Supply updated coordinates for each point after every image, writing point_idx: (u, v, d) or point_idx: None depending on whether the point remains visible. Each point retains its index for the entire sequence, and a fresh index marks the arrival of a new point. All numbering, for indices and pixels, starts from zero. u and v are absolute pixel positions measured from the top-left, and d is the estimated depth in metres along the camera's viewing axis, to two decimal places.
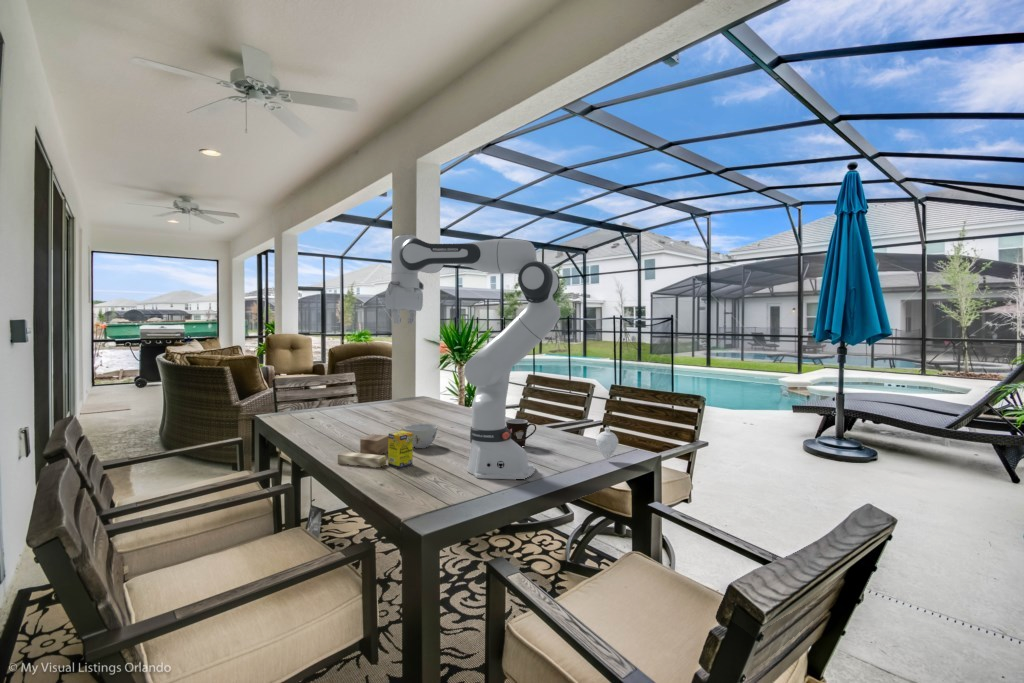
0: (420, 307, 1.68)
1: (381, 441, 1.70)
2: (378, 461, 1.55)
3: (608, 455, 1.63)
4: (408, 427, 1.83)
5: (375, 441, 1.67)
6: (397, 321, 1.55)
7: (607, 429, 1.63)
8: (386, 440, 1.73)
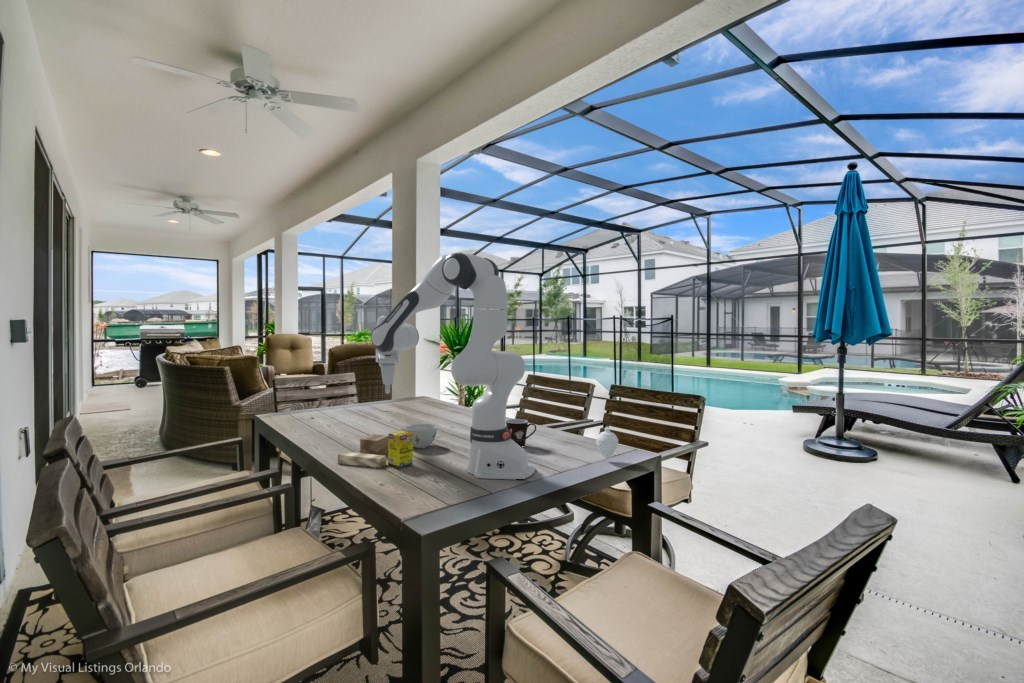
0: None
1: (381, 441, 1.70)
2: (378, 461, 1.55)
3: (608, 455, 1.63)
4: (408, 427, 1.83)
5: (375, 441, 1.67)
6: None
7: (607, 429, 1.63)
8: (386, 440, 1.73)
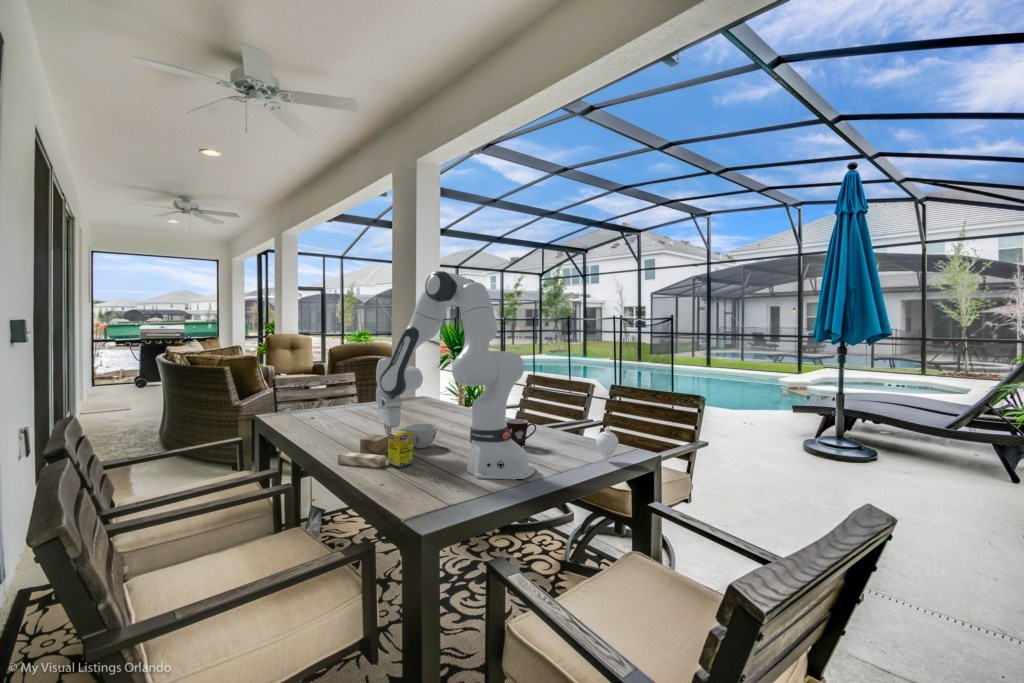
0: (388, 424, 1.73)
1: (381, 441, 1.70)
2: (378, 461, 1.55)
3: (608, 455, 1.63)
4: (408, 427, 1.83)
5: (374, 441, 1.67)
6: None
7: (607, 429, 1.63)
8: (386, 440, 1.73)
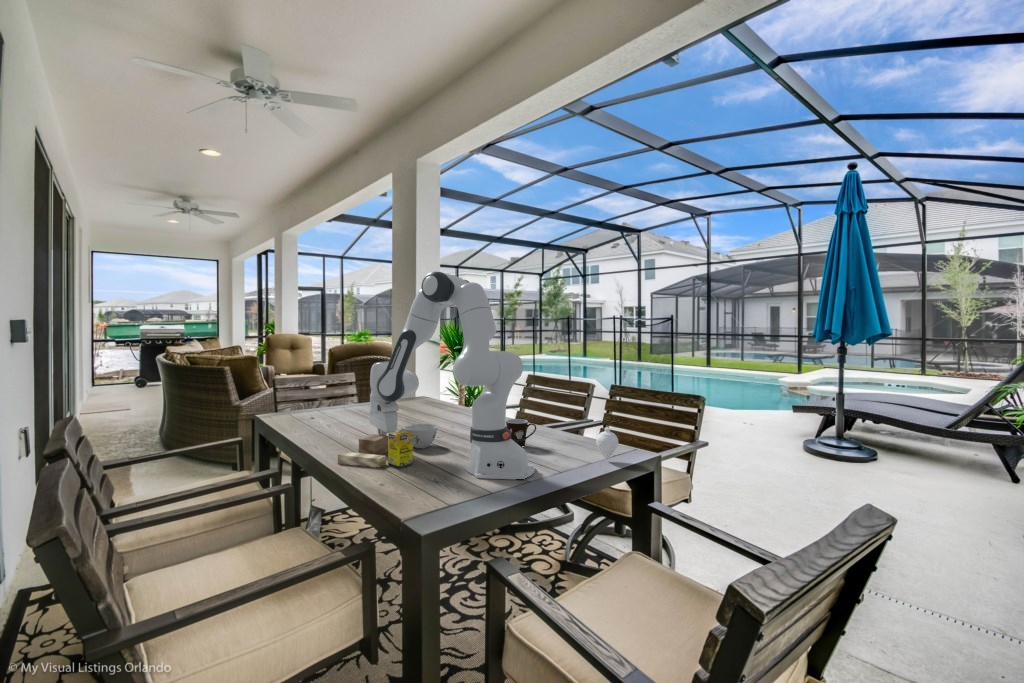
0: (385, 429, 1.69)
1: (379, 441, 1.69)
2: (378, 461, 1.55)
3: (608, 455, 1.63)
4: (408, 427, 1.83)
5: (373, 441, 1.67)
6: None
7: (607, 429, 1.63)
8: (385, 440, 1.72)
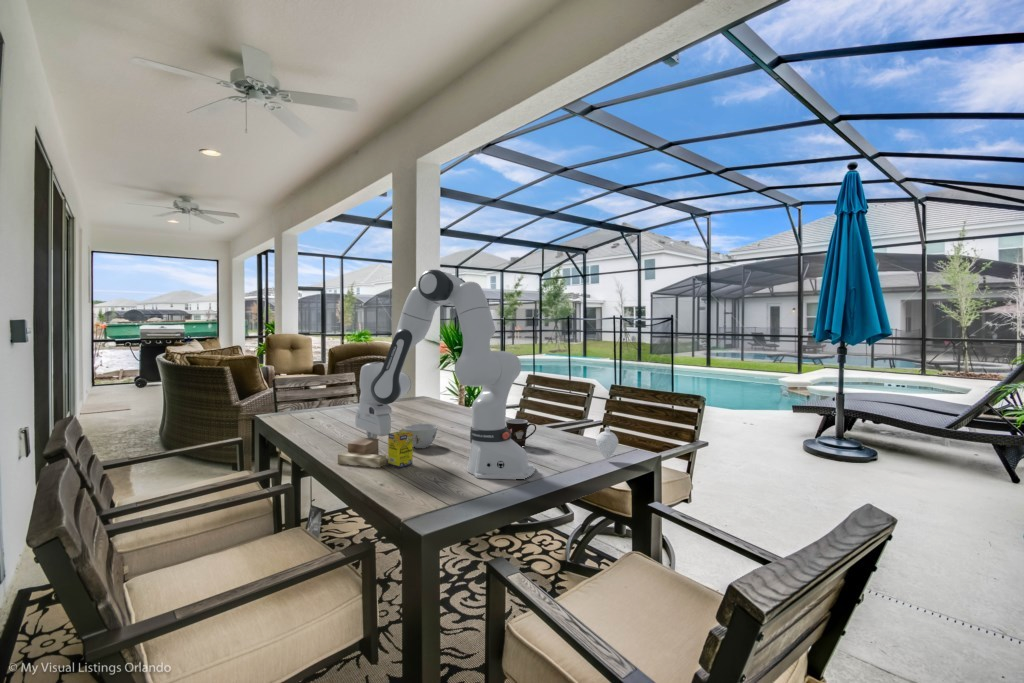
0: (378, 433, 1.63)
1: (370, 445, 1.63)
2: (378, 461, 1.55)
3: (608, 455, 1.63)
4: (408, 427, 1.83)
5: (363, 445, 1.61)
6: None
7: (607, 429, 1.63)
8: (375, 444, 1.66)
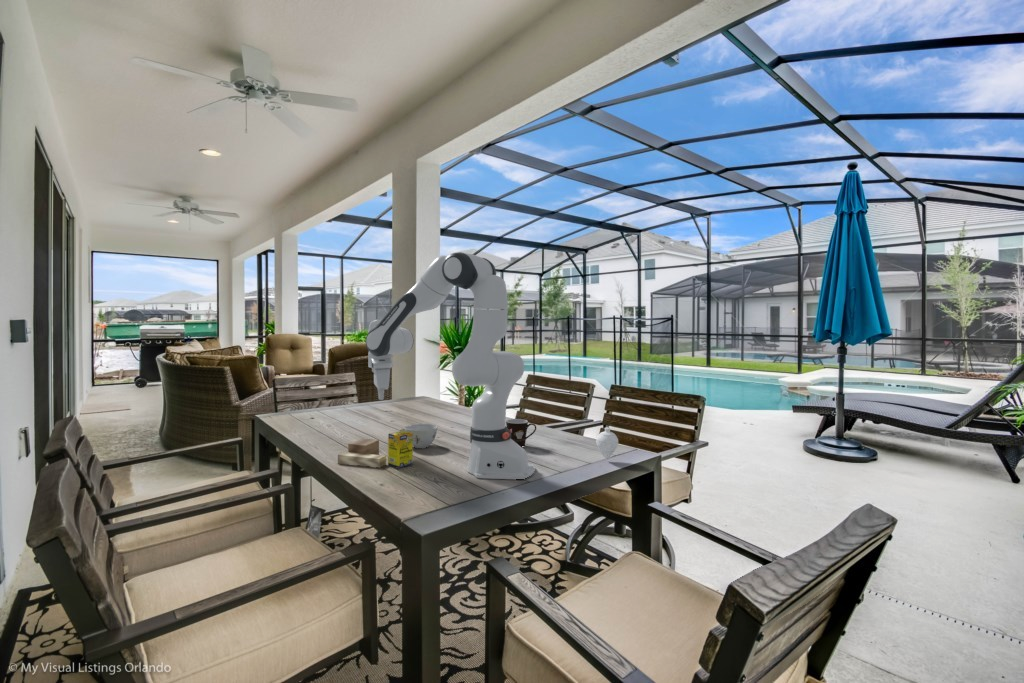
0: (377, 386, 1.66)
1: (370, 446, 1.63)
2: (378, 461, 1.55)
3: (608, 455, 1.63)
4: (408, 427, 1.83)
5: (363, 446, 1.61)
6: None
7: (607, 429, 1.63)
8: (376, 445, 1.66)
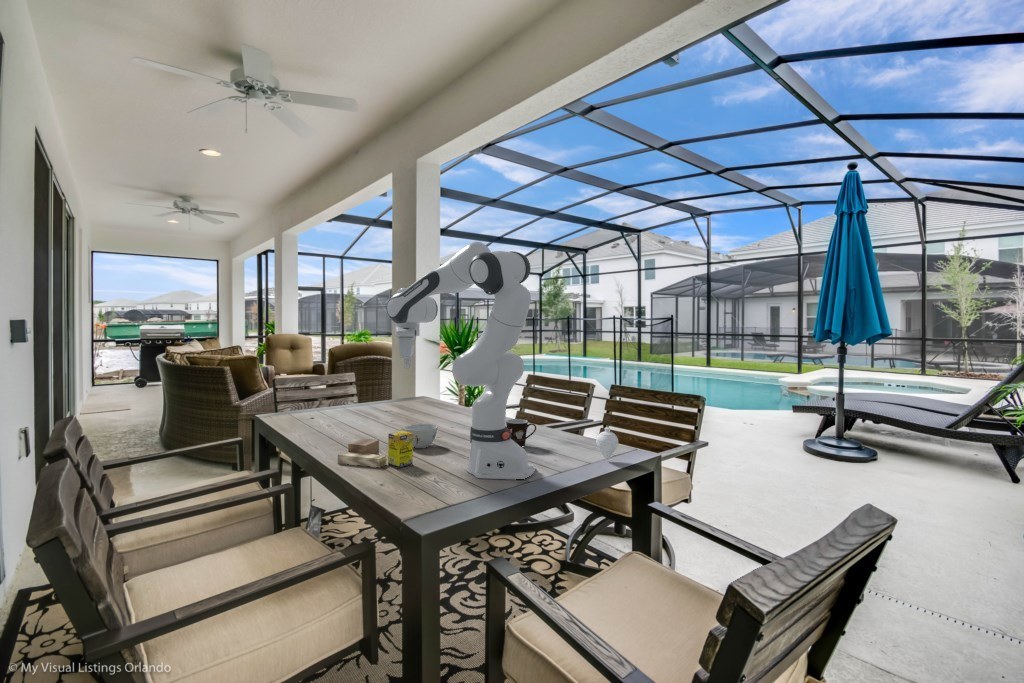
0: None
1: (370, 446, 1.63)
2: (378, 461, 1.55)
3: (608, 455, 1.63)
4: (408, 427, 1.83)
5: (363, 446, 1.61)
6: None
7: (607, 429, 1.63)
8: (376, 445, 1.66)
